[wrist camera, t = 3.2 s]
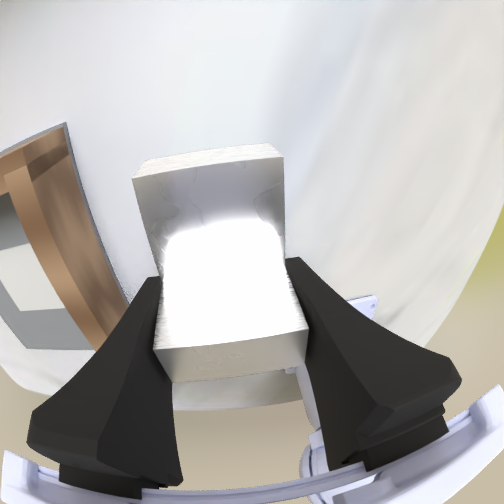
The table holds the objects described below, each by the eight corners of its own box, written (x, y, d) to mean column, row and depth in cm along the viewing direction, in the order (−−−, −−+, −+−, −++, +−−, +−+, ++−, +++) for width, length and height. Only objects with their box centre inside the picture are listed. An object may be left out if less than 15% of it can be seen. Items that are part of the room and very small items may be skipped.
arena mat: (149, 343, 21) (149, 348, 21) (27, 345, 20) (26, 349, 20) (65, 121, 11) (61, 123, 10) (-60, 191, 10) (-63, 194, 9)
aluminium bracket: (275, 274, 13) (303, 365, 9) (178, 287, 13) (172, 382, 8) (269, 142, 9) (319, 195, 5) (145, 160, 9) (98, 228, 5)
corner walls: (152, 347, 22) (148, 391, 18) (30, 349, 21) (19, 382, 17) (66, 125, 11) (21, 147, 7) (-59, 193, 10) (-90, 222, 6)
